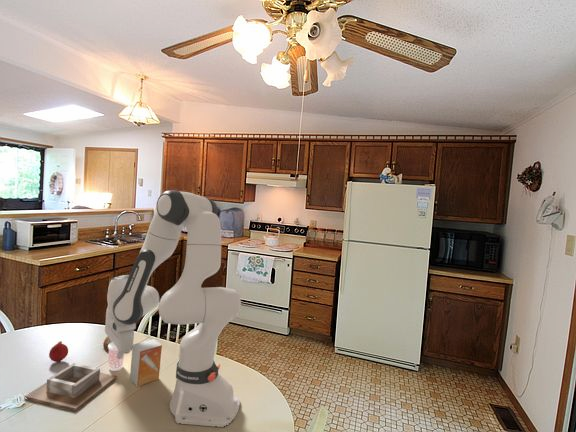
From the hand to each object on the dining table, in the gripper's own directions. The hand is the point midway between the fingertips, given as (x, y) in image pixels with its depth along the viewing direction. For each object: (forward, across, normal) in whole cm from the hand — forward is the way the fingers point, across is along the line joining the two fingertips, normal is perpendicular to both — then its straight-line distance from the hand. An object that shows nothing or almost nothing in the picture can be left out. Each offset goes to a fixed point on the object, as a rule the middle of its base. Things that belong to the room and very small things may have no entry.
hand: (116, 353), depth 121 cm
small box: (+6, +13, +6) cm, 15 cm away
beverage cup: (+6, 0, 0) cm, 6 cm away
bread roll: (+6, -16, +6) cm, 18 cm away
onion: (+6, -15, -16) cm, 22 cm away
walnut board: (+5, +6, -14) cm, 16 cm away
